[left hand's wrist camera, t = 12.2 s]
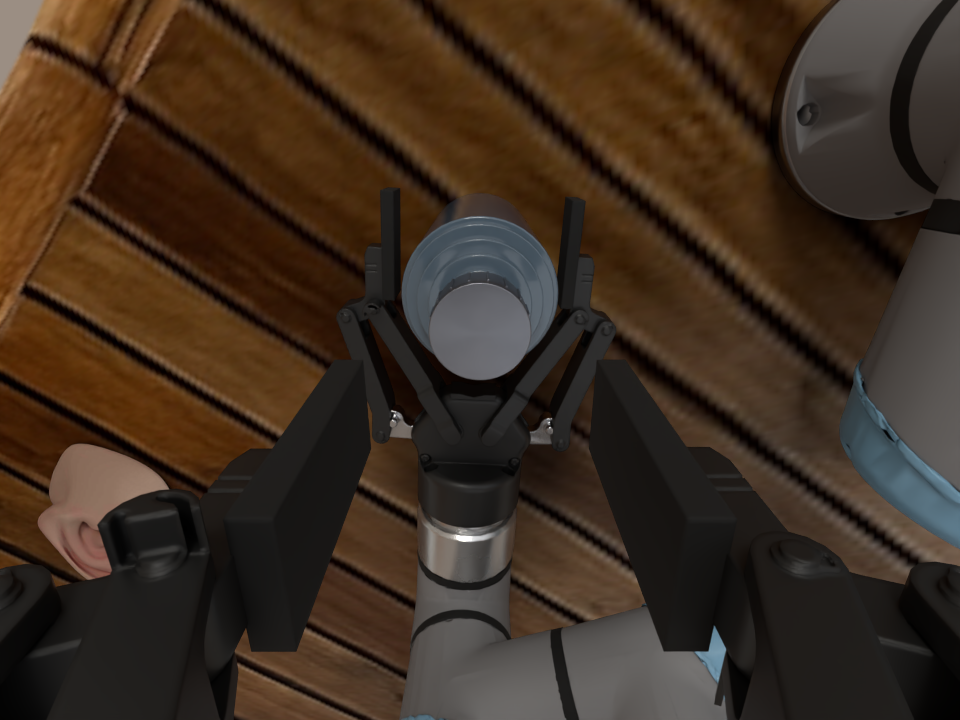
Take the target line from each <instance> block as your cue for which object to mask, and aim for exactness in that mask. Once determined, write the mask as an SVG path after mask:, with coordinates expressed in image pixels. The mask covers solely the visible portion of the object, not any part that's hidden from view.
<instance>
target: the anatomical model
mask: <svg viewBox="0 0 960 720" xmlns="http://www.w3.org/2000/svg"><path fill="white" fill-rule="evenodd" d="M167 489H169V488H168V486H167V485H166V483H165V482H164V481H163V479H162V478H161V477H160V476H159V475H158V474H157V473H156V472H154V471H153V470H152V469H150V468H149V467H147V466H146V465H144V464H142V463H140V462H138V461H136V460H134V459H132V458H130V457H128V456H125V455H123V454H120V453H117V452H115V451H111V450H108V449H105V448H102V447H98V446H94V445H89V444H75V445H72V446H70V447H69V448H67V449H66V450H65V452H64V453H63V454H62V456H61V458H60V460H59V462H58V464H57V466H56V468H55V470H54V472H53V475H52V479H51V483H50V488H49V495H50V499H51V501H52V503H53V505H52V506H51V507H49V508H48V509H47V510H45V511H44V512H43V513H42V514H41V515H40V517H39V519H38V526H39V528H40V530H41V531H42V532H43V533H44V535H45V536H46V537H47V538H48V539H49V541H50V542H51V543H52V544H53V545H54V546H55V548H56V549H57V550H58V551H59V552H60V553H61V554H62V556H63V557H64V558H65V559H66V560H67V561H68V562H69V563H70V564H71V566H72V567H73V568H74V569H75V570H76V571H78V572H79V573H80V574H81V575H82V576H83V577H85V578H86V579H88V580H90V579H94V578H99V577H103V576H107V575H110V573H111V571H112V569H111V566H110V563H109V560H108V557H107V554H106V551H105V548H104V545H103V542H102V539H101V536H100V532H99V529H98V526H97V524H98V523H99V522H100V521H101V520H102V518H103V517H104V516H105V515H106V514H107V513H108V512H109V511H111V510H112V509H114V508H115V507H117V506H118V505H120V504H121V503H123V502H125V501H128V500H130V499H132V498H135V497H137V496H139V495H142V494H146V493H150V492H154V491H158V490H167Z"/></svg>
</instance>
